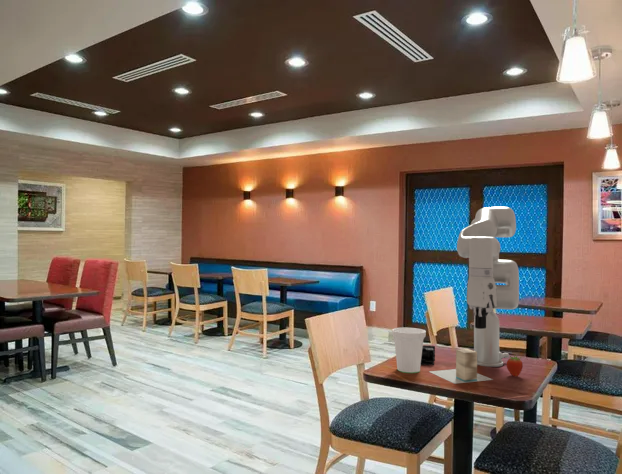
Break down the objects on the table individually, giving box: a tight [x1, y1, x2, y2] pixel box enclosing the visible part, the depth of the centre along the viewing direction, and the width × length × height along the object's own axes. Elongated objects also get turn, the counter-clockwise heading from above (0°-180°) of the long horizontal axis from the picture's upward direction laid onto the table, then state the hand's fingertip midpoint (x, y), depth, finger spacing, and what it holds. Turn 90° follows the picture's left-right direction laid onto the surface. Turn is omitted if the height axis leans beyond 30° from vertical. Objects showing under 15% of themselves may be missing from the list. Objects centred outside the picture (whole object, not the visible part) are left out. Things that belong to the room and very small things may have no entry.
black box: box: [420, 345, 436, 366], centre depth 194 cm, size 10×7×7 cm
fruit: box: [506, 355, 524, 378], centre depth 174 cm, size 5×5×8 cm
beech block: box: [455, 348, 478, 383], centre depth 169 cm, size 5×5×10 cm
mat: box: [428, 368, 494, 385], centre depth 174 cm, size 16×16×1 cm
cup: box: [391, 327, 427, 374], centre depth 181 cm, size 12×12×15 cm
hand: (480, 328), depth 161 cm, fingers closed
